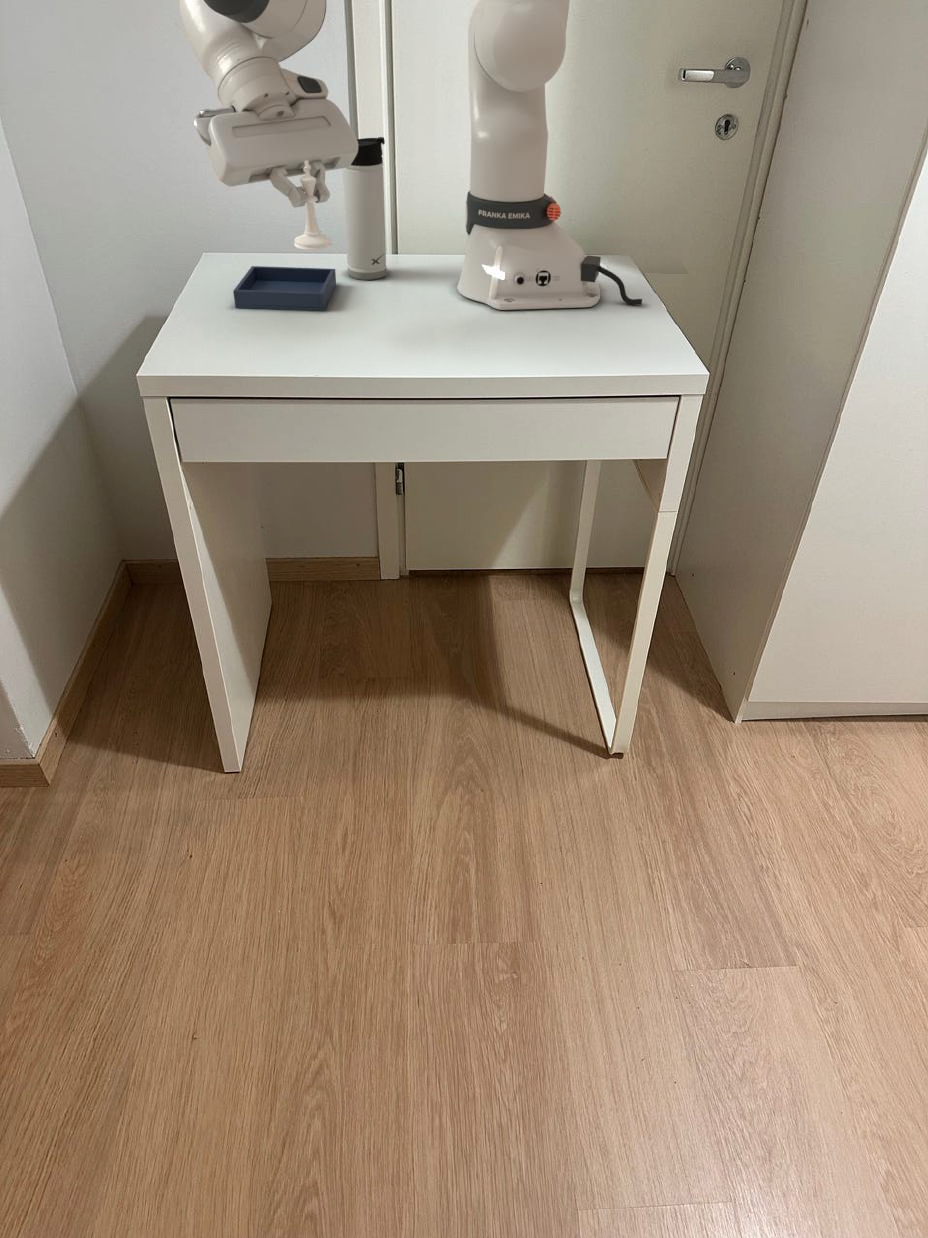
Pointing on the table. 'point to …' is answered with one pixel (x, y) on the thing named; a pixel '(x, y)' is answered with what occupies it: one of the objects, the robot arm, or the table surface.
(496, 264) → the robot arm
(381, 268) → the travel mug
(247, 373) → the table surface
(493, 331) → the table surface
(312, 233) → the chess piece
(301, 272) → the tray
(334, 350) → the table surface
